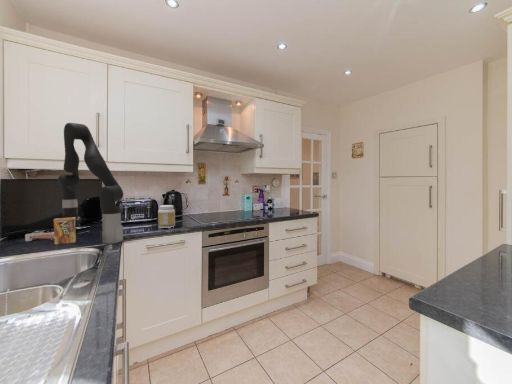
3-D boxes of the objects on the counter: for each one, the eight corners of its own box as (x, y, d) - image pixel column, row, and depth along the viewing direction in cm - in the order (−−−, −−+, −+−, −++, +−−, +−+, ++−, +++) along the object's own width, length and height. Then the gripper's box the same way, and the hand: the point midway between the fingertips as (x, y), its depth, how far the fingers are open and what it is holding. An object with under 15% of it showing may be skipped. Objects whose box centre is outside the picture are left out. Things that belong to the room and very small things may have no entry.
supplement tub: (159, 226, 182) (159, 205, 181) (175, 225, 185) (175, 204, 184) (157, 229, 170) (156, 206, 169) (174, 228, 174) (174, 206, 173)
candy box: (76, 243, 132) (75, 217, 132) (75, 245, 129) (74, 218, 128) (56, 245, 128) (55, 218, 127) (54, 247, 124) (53, 219, 123)
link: (29, 238, 137) (29, 233, 137) (37, 236, 142) (37, 231, 141) (63, 239, 135) (63, 234, 135) (70, 237, 140) (70, 232, 140)
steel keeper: (18, 241, 130) (17, 234, 130) (37, 237, 140) (37, 230, 140) (34, 242, 129) (34, 235, 129) (52, 237, 140) (52, 230, 140)
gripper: (77, 205, 151) (78, 231, 152) (54, 207, 139) (55, 235, 139) (85, 205, 148) (86, 232, 149) (61, 208, 136) (62, 236, 137)
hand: (71, 233), depth 144 cm, fingers closed
